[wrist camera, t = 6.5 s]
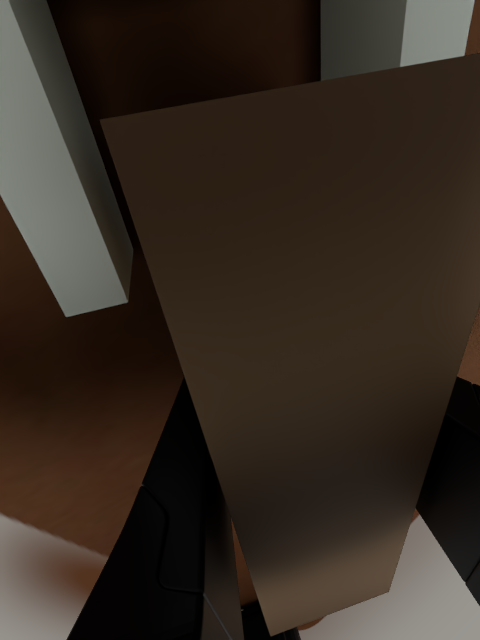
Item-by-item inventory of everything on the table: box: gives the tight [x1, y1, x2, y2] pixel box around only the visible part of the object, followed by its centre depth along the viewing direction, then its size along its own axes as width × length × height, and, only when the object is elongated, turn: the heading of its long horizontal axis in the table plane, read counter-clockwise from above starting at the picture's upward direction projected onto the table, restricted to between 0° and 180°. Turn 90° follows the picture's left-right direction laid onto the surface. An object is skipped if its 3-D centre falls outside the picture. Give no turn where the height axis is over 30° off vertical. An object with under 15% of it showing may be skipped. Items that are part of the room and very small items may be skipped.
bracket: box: [0, 0, 475, 317], centre depth 6 cm, size 6×8×3 cm
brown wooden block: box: [100, 53, 480, 636], centre depth 8 cm, size 12×4×5 cm, turn 9°
